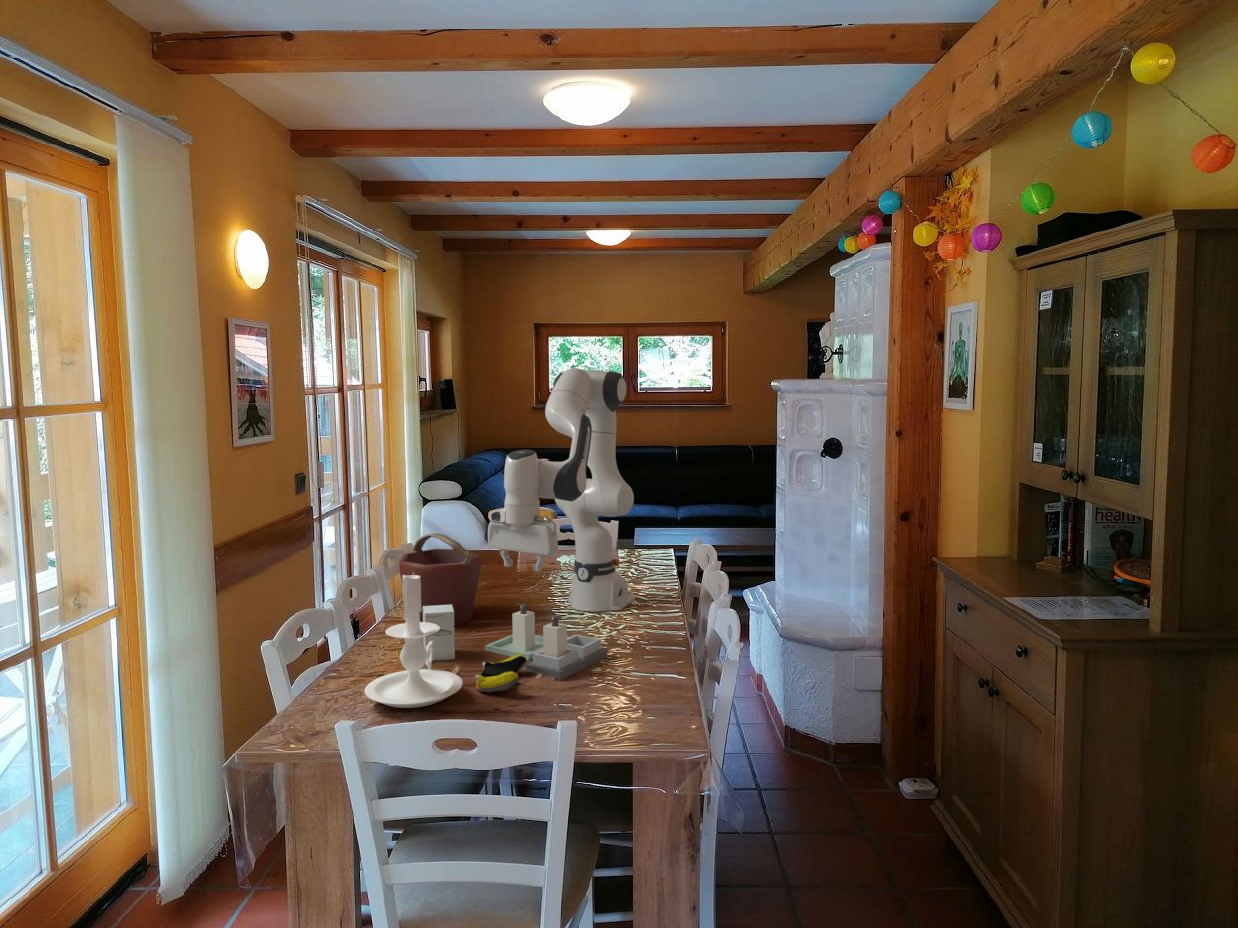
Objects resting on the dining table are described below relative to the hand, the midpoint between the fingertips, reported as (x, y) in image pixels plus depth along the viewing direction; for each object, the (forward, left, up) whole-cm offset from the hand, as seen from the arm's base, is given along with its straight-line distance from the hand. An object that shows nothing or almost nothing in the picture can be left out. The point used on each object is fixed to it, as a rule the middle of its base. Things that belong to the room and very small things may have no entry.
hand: (522, 568), depth 212 cm
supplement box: (+16, -14, -21) cm, 30 cm away
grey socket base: (+3, +16, -21) cm, 27 cm away
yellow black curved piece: (+22, +11, -22) cm, 33 cm away
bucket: (-7, -37, -21) cm, 43 cm away
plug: (0, 0, -20) cm, 20 cm away
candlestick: (+37, 0, -21) cm, 43 cm away
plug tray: (0, 0, -21) cm, 21 cm away
